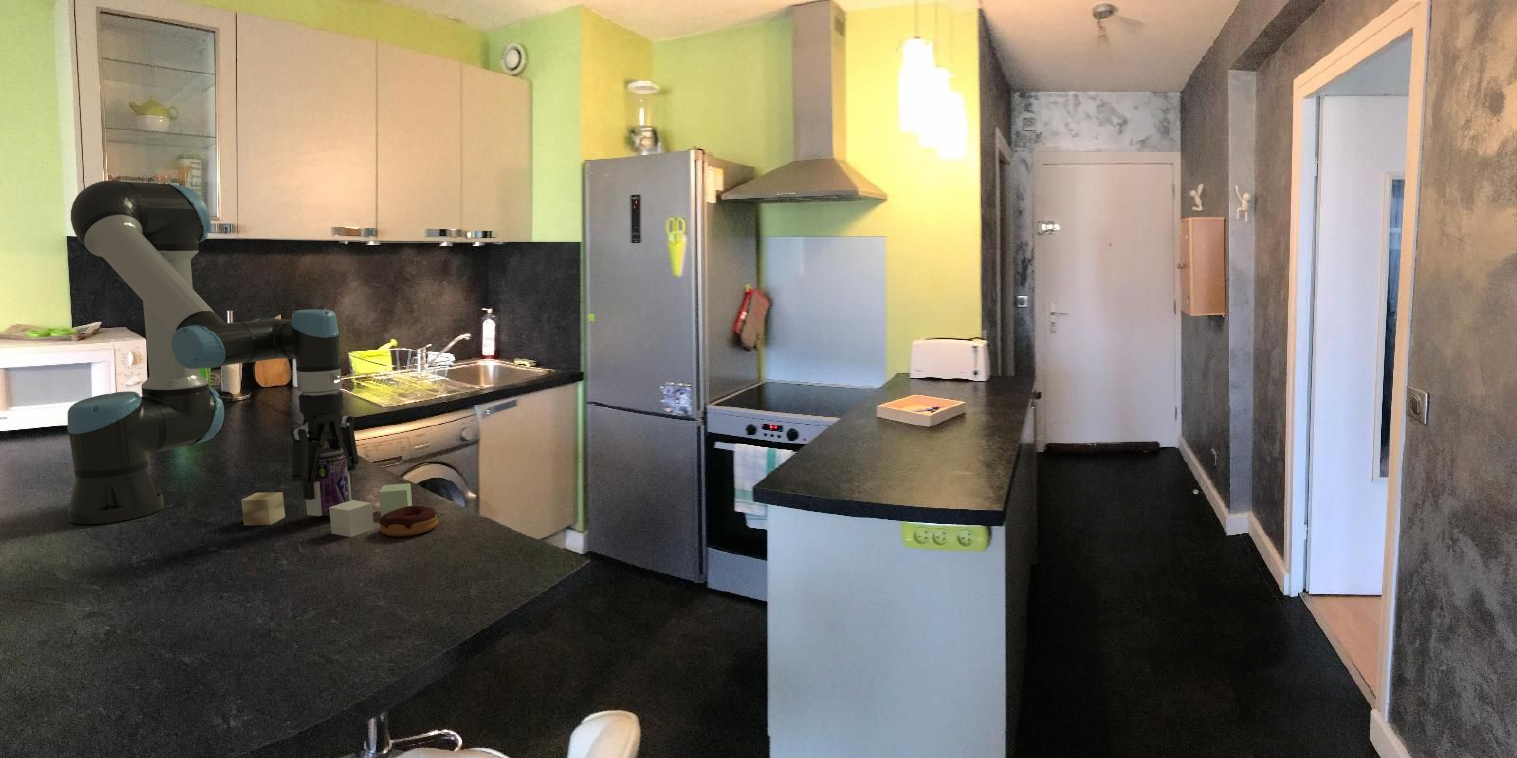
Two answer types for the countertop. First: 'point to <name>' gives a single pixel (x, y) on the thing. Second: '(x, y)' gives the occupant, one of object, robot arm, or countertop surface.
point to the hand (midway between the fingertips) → (329, 508)
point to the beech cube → (263, 508)
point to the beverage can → (332, 478)
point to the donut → (408, 521)
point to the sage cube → (394, 497)
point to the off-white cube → (351, 518)
